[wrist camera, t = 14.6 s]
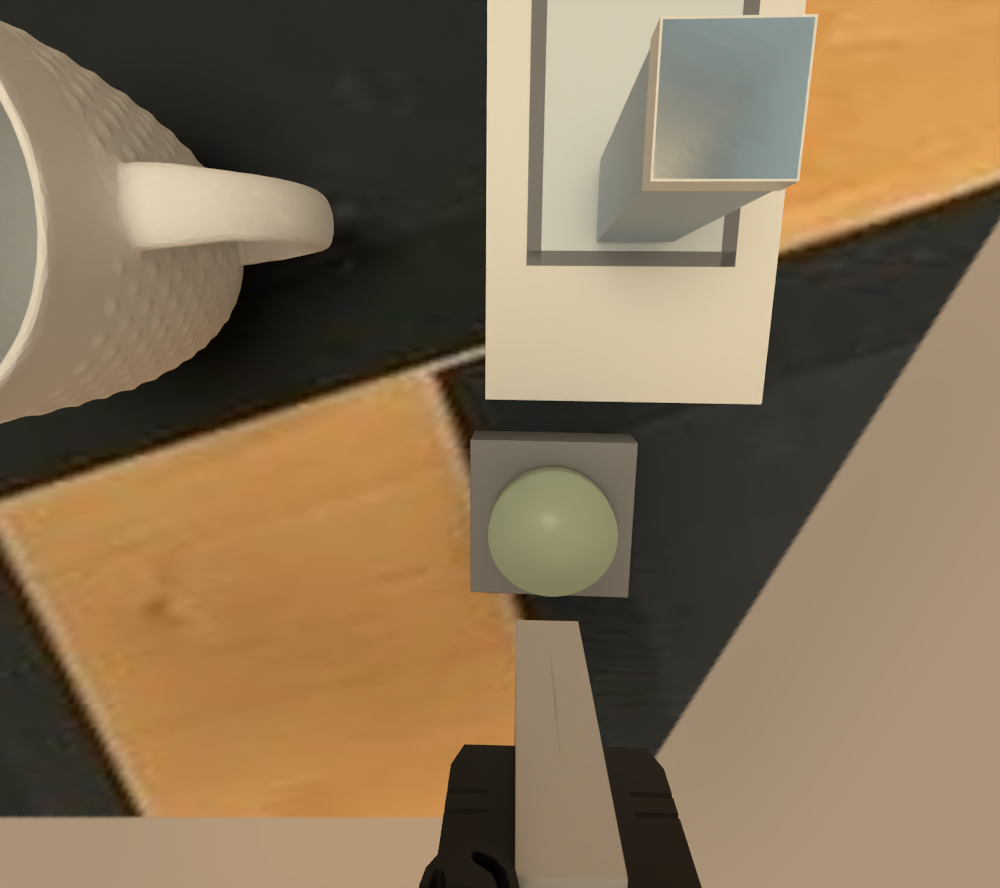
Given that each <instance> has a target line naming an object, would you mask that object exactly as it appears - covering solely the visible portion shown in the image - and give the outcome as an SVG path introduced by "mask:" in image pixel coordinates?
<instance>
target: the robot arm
mask: <svg viewBox="0 0 1000 888" xmlns="http://www.w3.org/2000/svg"><path fill="white" fill-rule="evenodd" d="M419 888H702V887H701V884H700V881H699V878H698V875H697V872H696V869H695V866H694V862H693V859H692V856H691V853H690V850H689V847H688V843H687V840H686V838H685V834H684V831H683V828H682V825H681V821H680V819H679V818H678V812H677V809H676V806H675V803H674V799H673V798H672V794H671V790H670V787H669V784H668V781H667V777H666V775H665V771H664V769H663V768H662V766H661V765H660V764H659V763H658V762H657V760H656V759H655V758H654V757H653V755H652V754H651V753H650V752H649V751H648V749H647V748H625V747H602V743H601V738H600V733H599V727H598V722H597V717H596V712H595V707H594V702H593V696H592V691H591V686H590V681H589V676H588V671H587V665H586V660H585V655H584V650H583V645H582V640H581V634H580V629H579V624H578V621H538V620H516V672H515V739H514V746H499V745H466V744H465V745H464V746H463V748H462V749H461V751H460V752H459V753H458V755H457V756H456V758H455V759H454V761H453V762H452V764H451V768H450V775H449V782H448V790H447V796H446V802H445V812H444V816H443V823H442V830H441V837H440V844H439V850H438V855H437V856H436V857H435V858H434V859H433V860H432V861H431V863H430V864H429V865H428V866H427V867H426V869H425V872H424V874H423V877H422V880H421V882H420V885H419Z"/></svg>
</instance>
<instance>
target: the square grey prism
mask: <svg viewBox="0 0 1000 888" xmlns="http://www.w3.org/2000/svg"><path fill="white" fill-rule="evenodd" d="M817 20H818V14H785V15H717V16H661V17H660V19H659V21H658V23H657V26H656V28H655V30H654V33H653V35H652V37H651V42H650V49H649V51H648V54H647V56H646V58H645V60H644V63H643V65H642V67H641V69H640V72H639V74H638V76H637V78H636V81H635V83H634V85H633V87H632V90H631V92H630V94H629V96H628V99H627V101H626V103H625V105H624V108H623V110H622V112H621V114H620V117H619V119H618V121H617V123H616V126H615V128H614V130H613V132H612V135H611V137H610V139H609V141H608V144H607V146H606V148H605V150H604V153H603V155H602V157H601V159H600V176H599V198H598V221H597V242H674V241H676V240H678V239H680V238H682V237H684V236H686V235H688V234H689V233H691V232H693V231H695V230H697V229H699V228H701V227H703V226H705V225H707V224H709V223H711V222H713V221H715V220H717V219H719V218H721V217H723V216H725V215H727V214H729V213H731V212H733V211H735V210H737V209H739V208H741V207H743V206H744V205H746V204H748V203H750V202H752V201H754V200H756V199H758V198H760V197H762V196H764V195H766V194H768V193H770V192H772V191H781V190H783V189H785V188H787V187H789V186H791V185H793V184H795V183H797V182H799V177H800V168H801V160H802V151H803V142H804V133H805V125H806V116H807V107H808V99H809V90H810V81H811V72H812V64H813V55H814V46H815V38H816V29H817Z"/></svg>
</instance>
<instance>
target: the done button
mask: <svg viewBox="0 0 1000 888" xmlns="http://www.w3.org/2000/svg"><path fill="white" fill-rule="evenodd" d="M617 543H618V528H617V522H616V519H615V516H614V513H613V511H612V508H611V506H610V504H609V501H608V499H607V497H606V496H605V494H604V493H603V491H602V490H601V489H600V488H599V487H598V485H596V484H595V483H594V482H593V481H592V480H591V479H589V478H588V477H586V476H585V475H583V474H581V473H579V472H577V471H574V470H571V469H567V468H562V467H542V468H537V469H533V470H530V471H527V472H525V473H523V474H521V475H519V476H518V477H516V478H515V479H513V480H512V481H511V482H510V483H508V484H507V485H506V487H505V488H504V489H503V490H502V491H501V493H500V494H499V495H498V497H497V499H496V501H495V503H494V506H493V509H492V513H491V517H490V522H489V527H488V544H489V548H490V552H491V555H492V558H493V560H494V562H495V564H496V566H497V567H498V569H499V570H500V572H501V573H502V574H503V575H504V576H505V577H506V578H507V579H508V580H509V581H510V582H512V583H513V584H514V585H516V586H517V587H519V588H521V589H523V590H525V591H527V592H530V593H533V594H537V595H541V596H550V597H553V596H565V595H570V594H573V593H576V592H579V591H581V590H583V589H585V588H587V587H589V586H590V585H592V584H593V583H594V582H596V581H597V580H598V579H599V578H600V577H601V576H602V575H603V574H604V573H605V572H606V570H607V569H608V567H609V566H610V564H611V562H612V560H613V558H614V555H615V552H616V549H617Z"/></svg>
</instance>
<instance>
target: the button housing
mask: <svg viewBox="0 0 1000 888" xmlns="http://www.w3.org/2000/svg"><path fill="white" fill-rule="evenodd" d="M637 447H638V443H637V442H636V441H635V439H634V438H633V437H632V436H631V435H630V434H619V433H571V432H524V431H476V430H475V432H474V434H473V436H472V438H471V592H485V593H514V594H533V593H530V592H527V591H525V590H523V589H521V588H519V587H517V586H516V585H514V584H513V583H512V582H510V581H509V580H508V579H507V578H506V577H505V576H504V575H503V574H502V573H501V572H500V570H499V569H498V567H497V566H496V564H495V562H494V560H493V558H492V555H491V552H490V548H489V544H488V527H489V522H490V517H491V513H492V509H493V506H494V503H495V501H496V499H497V497H498V495H499V494H500V493H501V491H502V490H503V489H504V488H505V487H506V485H507V484H508V483H510V482H511V481H512V480H513V479H515V478H516V477H518V476H519V475H521V474H523V473H525V472H527V471H530V470H533V469H537V468H542V467H562V468H567V469H571V470H574V471H577V472H579V473H581V474H583V475H585V476H586V477H588V478H589V479H591V480H592V481H593V482H594V483H595V484H596V485H598V487H599V488H600V489H601V490H602V491H603V493H604V494H605V496H606V497H607V499H608V501H609V504H610V506H611V508H612V511H613V513H614V516H615V519H616V522H617V528H618V543H617V549H616V552H615V555H614V558H613V560H612V562H611V564H610V566H609V567H608V569H607V570H606V572H605V573H604V574H603V575H602V576H601V577H600V578H599V579H598V580H597V581H596V582H594V583H593V584H592V585H590V586H589V587H587V588H585V589H583V590H581V591H579V592H576V593H573V594H570V595H572V596H600V597H628V587H629V572H630V556H631V541H632V525H633V509H634V494H635V478H636V463H637Z"/></svg>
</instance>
